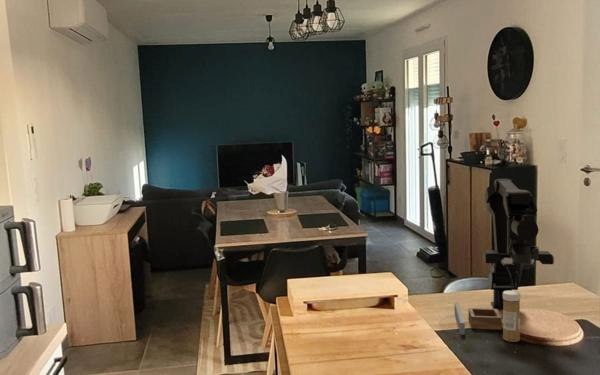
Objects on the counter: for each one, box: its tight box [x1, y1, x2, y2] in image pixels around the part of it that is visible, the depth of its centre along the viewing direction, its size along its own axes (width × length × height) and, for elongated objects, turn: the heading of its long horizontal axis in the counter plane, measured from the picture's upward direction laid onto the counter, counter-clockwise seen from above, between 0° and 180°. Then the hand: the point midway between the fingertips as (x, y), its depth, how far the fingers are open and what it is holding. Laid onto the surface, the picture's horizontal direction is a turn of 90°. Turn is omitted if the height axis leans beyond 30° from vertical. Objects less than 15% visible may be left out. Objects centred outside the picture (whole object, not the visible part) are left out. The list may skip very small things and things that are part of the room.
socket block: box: [467, 307, 503, 331], centre depth 165 cm, size 8×8×4 cm
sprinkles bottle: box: [502, 290, 521, 343], centre depth 151 cm, size 5×5×14 cm
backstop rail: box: [454, 301, 466, 336], centre depth 166 cm, size 20×1×4 cm, turn 169°
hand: (517, 285), depth 162 cm, fingers closed
